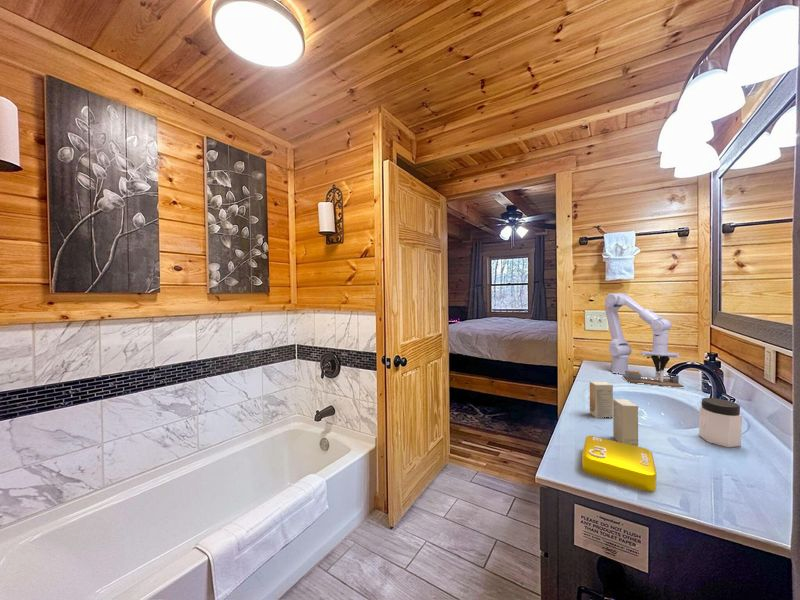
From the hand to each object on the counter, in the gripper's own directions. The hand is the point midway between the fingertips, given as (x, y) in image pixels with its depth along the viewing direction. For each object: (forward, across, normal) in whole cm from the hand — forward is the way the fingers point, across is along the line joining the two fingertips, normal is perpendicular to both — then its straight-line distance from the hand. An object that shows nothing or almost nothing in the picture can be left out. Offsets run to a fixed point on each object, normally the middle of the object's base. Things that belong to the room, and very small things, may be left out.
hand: (659, 371), depth 153 cm
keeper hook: (+5, +3, 0) cm, 6 cm away
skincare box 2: (+6, -34, -76) cm, 83 cm away
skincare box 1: (+6, -36, -56) cm, 67 cm away
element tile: (+7, -40, -93) cm, 101 cm away
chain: (+5, -5, 0) cm, 6 cm away
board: (+6, -3, 0) cm, 7 cm away
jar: (+6, -6, -65) cm, 66 cm away
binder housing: (+6, -11, 0) cm, 12 cm away
